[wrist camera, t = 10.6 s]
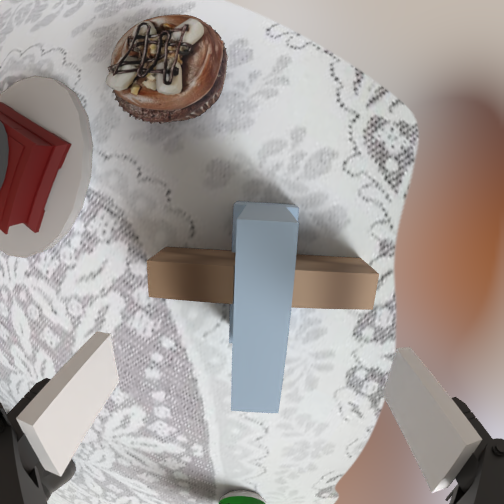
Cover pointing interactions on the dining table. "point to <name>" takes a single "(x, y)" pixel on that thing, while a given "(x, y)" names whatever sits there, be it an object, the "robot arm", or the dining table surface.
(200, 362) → the dining table surface
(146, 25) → the cupcake
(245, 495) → the soda can
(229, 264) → the board
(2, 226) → the gramophone
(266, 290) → the cross plate
